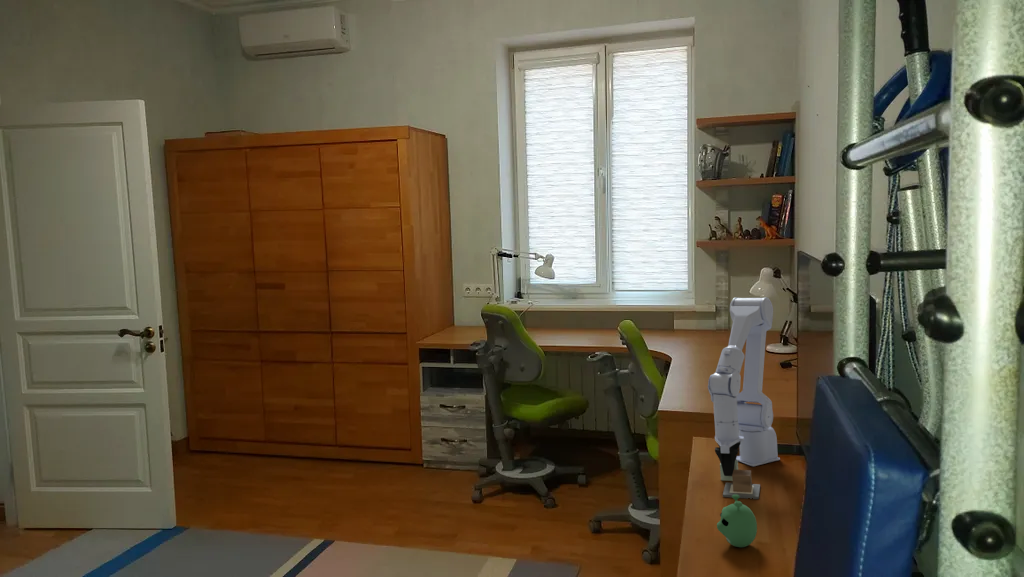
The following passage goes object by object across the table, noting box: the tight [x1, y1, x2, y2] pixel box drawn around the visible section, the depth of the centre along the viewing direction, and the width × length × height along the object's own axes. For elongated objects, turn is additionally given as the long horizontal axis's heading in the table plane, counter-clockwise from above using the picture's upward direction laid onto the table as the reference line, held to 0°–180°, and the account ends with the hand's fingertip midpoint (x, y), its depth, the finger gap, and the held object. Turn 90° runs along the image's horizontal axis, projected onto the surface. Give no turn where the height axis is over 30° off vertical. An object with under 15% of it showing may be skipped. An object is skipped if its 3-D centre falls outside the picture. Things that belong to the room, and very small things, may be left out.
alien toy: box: [716, 495, 758, 548], centre depth 139 cm, size 7×8×10 cm
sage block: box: [719, 460, 739, 482], centre depth 177 cm, size 4×4×4 cm
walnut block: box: [732, 469, 753, 493], centre depth 167 cm, size 4×4×4 cm
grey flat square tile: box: [722, 482, 761, 500], centre depth 167 cm, size 8×8×1 cm
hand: (729, 472), depth 177 cm, fingers closed on sage block, 4 cm apart
